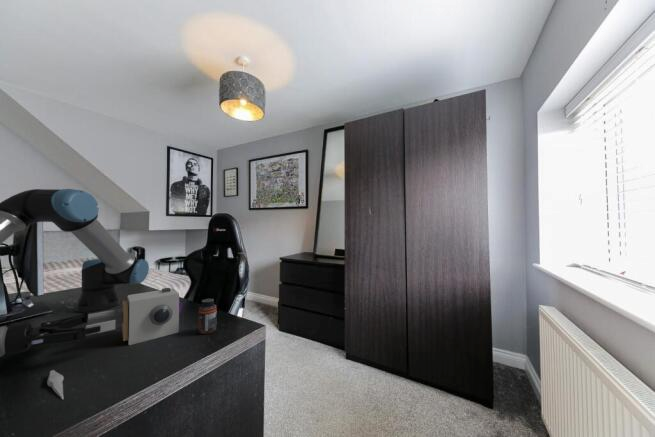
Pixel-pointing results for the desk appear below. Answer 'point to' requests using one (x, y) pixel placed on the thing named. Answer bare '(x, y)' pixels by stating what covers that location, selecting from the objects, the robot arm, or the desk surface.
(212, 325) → the supplement bottle
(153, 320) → the camera body
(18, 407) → the desk surface
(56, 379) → the grey tapered wedge
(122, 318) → the door
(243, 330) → the desk surface
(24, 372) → the desk surface
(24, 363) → the desk surface
